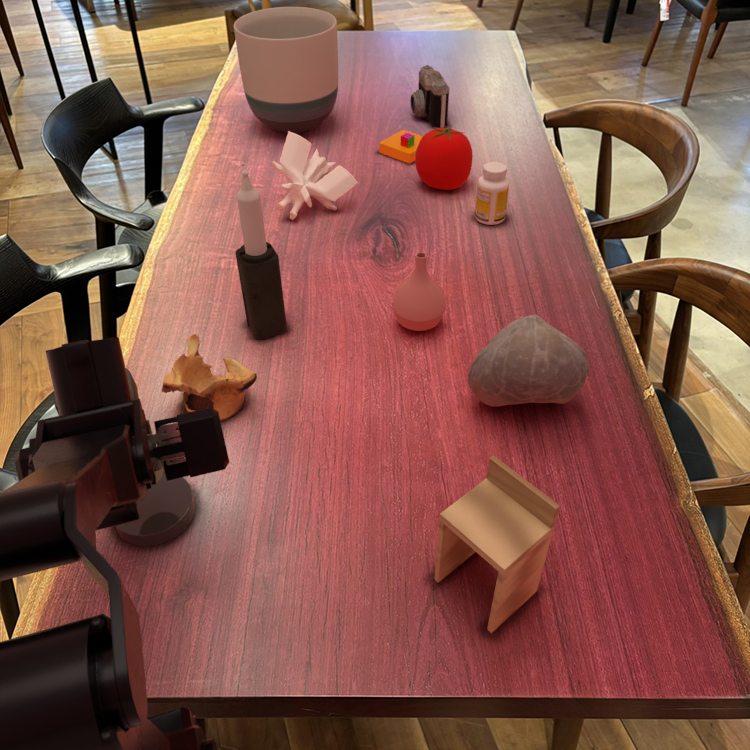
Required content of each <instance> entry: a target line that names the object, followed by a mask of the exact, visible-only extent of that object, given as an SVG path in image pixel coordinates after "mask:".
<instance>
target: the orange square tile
mask: <svg viewBox="0 0 750 750" xmlns="http://www.w3.org/2000/svg"><path fill="white" fill-rule="evenodd" d="M423 136H424V135H421V134H418V133H414V132H412V131H409V130H406V129H402V130H399V131H398V132H396V133H394V134H392V135H390V136H388V137H387V138H385V139H383V140H382V141H380V142H378V143H379V144H378V152H379V154H381V155H384V156H387V157H390V158H392V159H394V160H395V159H396V160H398V161H401V162H403V163H405V164H409V165H411V164H412V163H415V154H416V150H417V147H418V145H419V142H420V140H421V139H422V137H423Z"/></svg>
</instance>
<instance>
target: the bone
mask: <svg viewBox="0 0 750 750" xmlns="http://www.w3.org/2000/svg"><path fill="white" fill-rule="evenodd" d="M186 341H187V355H186V354H185V353H181V354H180V356H178V357H177V359H176V360H175V361H174V363H173V367H172V368H171V371H170V372H169V373H168V374H165V375H164V379H163V381H162V387H161V393H165V394H167V393H171V392H172V393H174V392H177V391H178V392H182V393H183V396H182V403H183V406H184V409H185V411H186V413H188V412H193V411H196V410H193V409H191V408H189V405H188V404H187V403H186V402H187V401H188V396H189V395H190V394H193V395H196V396H199V397H200V398H207V400H210V402H212V403H213V404H212V405H213V409H215V410H216V411H218V412H219V417H220V421H221V422H222V421H225V420H228V419H230V418H231V417H233V416H235V415H236V414H237V413H238V412H240V411H241V410H242V409H243V408H244V407H245V404H246V402H247V398H246V397H247V395H246V394H245V390H248V389H249V388H251V387H252V386H253V385H254V383H256V381H257V379H258V376H257V374H258V373H256V372H255V371H252V370H251V369H249V368H247V367H246V366H245V365H244V364H243V363H241V362H240V361H238V360H236V359H235V358H233V357H223V358H222V361H223V362H224V365H225V369H226V371H227V372H225V375H218V374H213V373H212V370H211V369H212V367H213V365H211V364H207V363H206V362H204V360H203V359H204V358H203V356H202V355H200V352H199V348H200V345H201V344H200V337H199V336H198V335H197V334H195V333H193V334H192V335H190V336H188V337H187V338H186Z"/></svg>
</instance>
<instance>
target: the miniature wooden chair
mask: <svg viewBox="0 0 750 750" xmlns="http://www.w3.org/2000/svg"><path fill="white" fill-rule="evenodd" d="M487 466H488V467H487V472H486V477H485V478H484V479H483V480H482V481H480V482H479V483H478V484H477V485H475V486H474V487H472V488H471V489H470V490H469V491H467V492H466V493H464V495H462V496H461V497H459V498H458V499H457V500H456V501H455V502H452V504H451V505H450V506H448V507H446V508H445V509H444V510H443V511H441V512H440V513H439V519H438V520H439V522H438V531H437V532H438V533H437V545H436V555H435V568H434V579H433V580H434V581H435V582H436V583H438V584H439V583H440V582H442V580H444V579H445V578H446V577H447V576H449V575H450V574H451V573H452V572H453V571H455V570H456V569H457V568H458V567H459V566H461V565H462V564H463V563H464V562H465V561H467V560H468V559H469V558H470V557H471V556H473V555H474V554H475V553H476V554H477V555H479V556H480V557H481V558H482V559H484V560H485V561H486V562H487V563H488V564H489V565H490V566H491V567H492V568H494V570H496V571H497V577H496V582H495V587H494V592H493V598H492V602H491V608H490V613H489V616H488V617H489V618H488V623H487V627H486V630H487V631H488V632H489V633H490V634H493V632H495V631H496V630H497V629H498V628H499V627H500V626H501V625H502V624H504V623H505V622H506V620H508V619H509V618H510V617H511V616H512V615H513V614H514V613H515V612H516V611H517V610H519V608H520V607H522V606H523V605H524V604H525V603H526V602H527V601H528V600H529V599H530V598H531V597H533V596H534V595H535V594H536V593H537V592H538V589H539V585H540V581H541V577H542V574H543V571H544V567H545V562H546V560H547V557H548V553H549V549H550V545H551V541H552V538H553V535H554V534H553V533H554V530H555V527H556V523H557V519H558V516H559V512H560V508H561V505H560V504H558V503H557V502H556V501H555V500H553V499H552V498H551V497H549V496H548V495H547V494H545V492H542V491H541V490H540V489H539V488H537V487H536V486H535V485H534V484H532V483H531V482H530V481H528V480H527V479H525V478H524V477H523V476H521V475H520V474H519V473H518V472H516V471H515V470H514V469H513V468H511V467H510V466H508V465H507V464H506V463H504V462H503V461H502V460H501V459H499V458H498V457H497V456H496V455H492V456H490V457H489V458H488V464H487Z"/></svg>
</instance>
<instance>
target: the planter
mask: <svg viewBox="0 0 750 750" xmlns="http://www.w3.org/2000/svg"><path fill="white" fill-rule="evenodd" d="M233 31H234V38H235V45H236V53H237V59H238V65H239V71H240V76H241V81H242V87H243V92H244V96H245V98H246V99H245V100H246V101H247V105H248V106H249V109H250V110H251V112H252V114H253V115H254V117H256V119H258V120H259V122H261V123H262V124H263V125H265V126H266V127H268V128H269V129H272V130H273V131H276V132H279V133H284V134H288V131H290V132H292V133H295V134H299V133H300V134H301V133H305V132H308V131H311V130H314V129H315V128H317V127H319V126H320V125H322V123H324V122H325V121H326V120H327V119H328V117H330V115H331V114H332V112H333V110H334V107H335V105H336V102H337V97H338V93H339V92H338V91H339V46H338V45H339V44H338V43H339V42H338V20H337V18H336V17H335V15H333V14H332V13H331V12H328V11H325V10H322V9H318V8H313V7H304V6H277V7H270V8H263V9H258V10H255V11H251V12H249V13H246V14H243V15H241V16H240V17H238V18H237V19H236V20H235V21H234V23H233Z"/></svg>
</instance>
